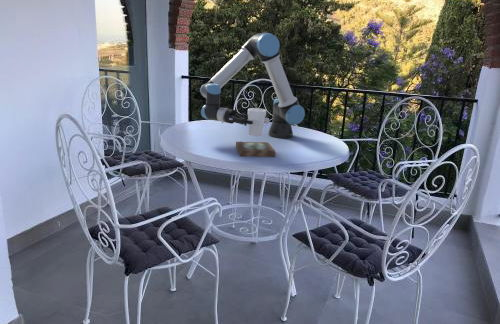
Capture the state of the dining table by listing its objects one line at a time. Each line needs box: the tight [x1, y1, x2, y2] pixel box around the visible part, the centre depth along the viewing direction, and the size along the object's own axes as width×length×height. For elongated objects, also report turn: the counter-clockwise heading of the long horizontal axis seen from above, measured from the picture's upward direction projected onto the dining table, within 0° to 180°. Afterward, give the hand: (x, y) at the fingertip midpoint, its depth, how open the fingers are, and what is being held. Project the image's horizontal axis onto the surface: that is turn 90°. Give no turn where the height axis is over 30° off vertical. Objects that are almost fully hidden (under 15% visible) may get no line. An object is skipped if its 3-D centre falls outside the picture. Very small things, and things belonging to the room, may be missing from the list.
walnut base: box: [235, 141, 276, 158], centre depth 215 cm, size 18×18×3 cm
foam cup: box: [247, 107, 267, 137], centre depth 211 cm, size 10×9×13 cm
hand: (263, 122), depth 209 cm, fingers closed on foam cup, 9 cm apart
